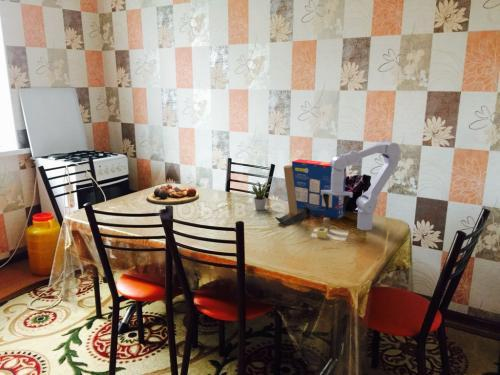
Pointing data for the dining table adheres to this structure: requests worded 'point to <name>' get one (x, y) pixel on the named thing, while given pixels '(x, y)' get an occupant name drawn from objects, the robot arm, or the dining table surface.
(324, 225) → the grey-capped tan cylinder
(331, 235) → the striped beige square plate
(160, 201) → the wooden plate with food
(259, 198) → the house plant
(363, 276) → the dining table surface
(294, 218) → the hammer
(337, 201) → the blue product box
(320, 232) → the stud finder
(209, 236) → the dining table surface
